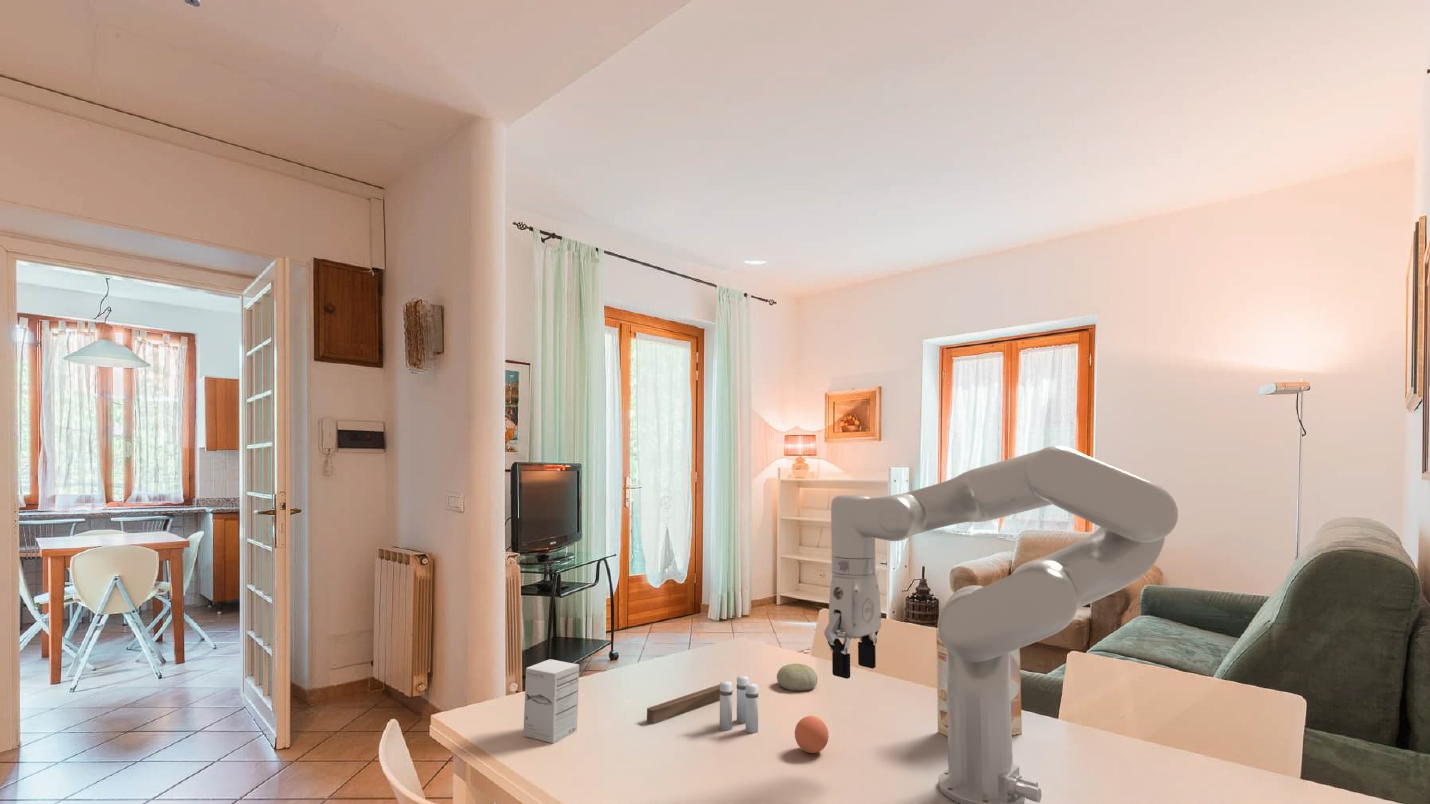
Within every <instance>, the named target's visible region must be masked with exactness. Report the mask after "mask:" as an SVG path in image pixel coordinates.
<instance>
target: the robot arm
mask: <svg viewBox="0 0 1430 804" xmlns="http://www.w3.org/2000/svg"><path fill="white" fill-rule="evenodd" d="M1176 503H1177V502H1176V500H1174V498H1173V496H1172V495H1171V494H1170V492H1168V491H1167V490H1165V489H1164V488H1163V486H1160V485H1158V484H1157V483H1154V482H1151V481H1149V480H1147V479H1144V478H1142V477H1139V476H1137V475H1134V474H1131V473H1130V472H1127V471H1124V470H1122V469H1119V468H1117V467H1115V466H1112V465H1111V464H1110V465H1109V464H1107V463H1105V462H1102V461H1100V460H1097V459H1095V458H1093V457H1091V456H1088V455H1086V454H1084V453H1082V452H1080V451H1078V450H1076V449H1073V448H1071V447H1069V446H1064V445H1050V446H1047V447H1043V449H1040V450H1036V451H1032V452H1030V453H1027V454H1022V455H1019V456H1015V457H1012V458H1009V459H1005V460H1002V461H998V462H995V463H992V464H991V463H990V464H987V465H982V466H979V467H977V468H973V469H970V470H967V471H965V472H963V473H961V474H959V475H957V476H955V477H953V478H950V479H949V480H945V481H942V482H939V483H936V484H932V485H929V486H926V487H922V488H918V489H916V490H911V491H907V492H903V493H899V494H898V493H897V494H893V495H887V496H879V497H871V496H867V495H862V494H861V495H858V494H842V495H837V496H834V497H833V498H832V500H831V504H830V505H831V506H830V517H831V518H830V529H831V530H830V532H831V533H830V534H831V538H830V541H831V542H830V543H831V548H830V549H831V556H830V557H831V558H830V559H831V563H830V564H831V575H832V576H831V580H830V587H829V600H828V624H827V625H826V627H825V629H824V631H823V634H824V637H825V638H826V640H827V644H828V646H829V650H830V652H831V654H832V656H831V661H832V662H831V663H832V668H831V669H832V675H833V676H835V677H838V678H842V679H850V678H851V653H848V652H849V648H850V645H851V642H852V640H853V639H854V640H856V639H859V640H860V641H858V642H857V664H858V665H859V666H861V667H863V668H868V669H872V670H873V669H875V668H876V667H877V666H876V665H877V664H876V663H877V661H876V659H877V658H876V657H877V656H876V644H877V643H878V637H877V636H878V633H879V631H880V629H881V628H882V610H881V596H880V588H879V587H880V586H879V581H878V577H877V573H876V539H879V540H883V541H889V542H898V541H903V540H907V539H908V538H910V537H912V536H914V535H917V534H918V535H919V534H921V533H925V532H929V531H932V530H933V531H934V530H937V529H940V528H944V527H948V526H953V525H957V524H963V523H971V522H972V523H982V522H988V521H993V520H996V519H999V518H1003V517H1007V516H1012V515H1016V514H1020V513H1024V512H1028V511H1031V510H1032V511H1033V510H1036V509H1041V508H1043V507H1047V506H1053V505H1054V506H1056V507H1058V508H1060V509H1062V510H1064V511H1066V512H1068V513H1070V514H1072V515H1074V516H1076V517H1078V518H1081V519H1083V520H1086V521H1087V522H1089V523H1091V524H1094V525H1096V526H1099V528H1098V529H1097V530H1096V531H1095V532H1094V533H1092V534H1090V535H1089V536H1086V537H1085V538H1083V539H1081V540H1078V541H1076V542H1075V543H1072V544H1070V545H1068V546H1067V547H1064V548H1061V549H1059V550H1057V551H1055V552H1052V553H1049V554H1048V555H1047V554H1046V555H1045V556H1042V557H1039V558H1036V559H1033V560H1029V561H1026V562H1024V563H1022V564H1020V565H1019V566H1018V567H1016V568H1015V570H1014V571H1013V572H1012V573H1011V574H1009V575H1007V576H1005V577H1003V578H1000V579H998V580H996V581H994V582H992V583H990V584H986V585H984V586H982V585H978V584H976V585H975V584H973V585H971V584H970V585H966V586H963V587H961V588H959V589H958V590H956V591H955V592H954V593H952V595H950V597H949V599H947V601H946V602H945V604H944V605H943V607H942V609H941V611H940V613H939V615H938V620H937V629H938V633H939V637H940V639H941V641H942V643H943V645H944V646H945V647H946V649H947V724H948V737H947V761H948V763H947V764H948V765H947V766H948V769H947V770H945V771H943V772H941V774H939V776H938V788H939V790H940V791H941V792H942V794H943V795H944V796H945V797H947V798H949V799H950V800H952V801H954V802H956V803H959V804H1024V802H1025V799H1026V800H1028V801H1032V802H1034V803H1035V802H1036V803H1037V804H1038V803H1041V799H1042V790H1041V788H1039V784H1038V782H1037V781H1034V780H1031V779H1027V778H1023V776H1022V775H1020V765H1016V764H1013V761H1014V760H1013V736H1012V725H1011V679H1010V652H1012V651H1014V650H1017V649H1019V648H1020V649H1022V648H1024V647H1027V646H1030V645H1032V644H1034V643H1037V642H1040V641H1042V640H1045V639H1047V638H1050V637H1051V636H1054V635H1057V634H1058V633H1060V632H1061V631H1063V630H1064V629H1066V628H1067V627H1068V626H1069V625H1070V624H1071V623H1072V621H1074V618H1075V617H1076V614H1077V611H1078V610H1079V609H1081V608H1083V607H1085V606H1087V605H1089V604H1091V603H1094V602H1096V601H1099V600H1101V599H1103V598H1105V597H1107V596H1110V595H1112V594H1114V593H1116V592H1118V591H1121V590H1123V589H1125V588H1126V587H1128V586H1131V585H1132V584H1134V583H1136V582H1137V581H1139V580H1140V579H1141V578H1142V577H1144V576H1145V575H1146V574H1147V573H1148V572H1149V571H1150V570H1151V568H1152V567H1153V566H1154V564H1155V563H1156V561H1157V559H1158V558H1159V556H1160V554H1161V552H1162V550H1163V547H1164V545H1165V541H1166V540H1165V539H1166V537H1167V536H1169V534H1171V533H1172V532H1173V530H1174V529H1175V527H1176V525H1177V522H1178V519H1179V518H1178V517H1179V510H1178V506H1177V504H1176ZM840 639H842V640H843V642H842V641H841V640H840Z"/></svg>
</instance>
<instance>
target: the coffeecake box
mask: <svg viewBox="0 0 1430 804" xmlns="http://www.w3.org/2000/svg"><path fill="white" fill-rule="evenodd" d="M935 630H936V632H935V633H936V683H937V684H936V689H937V691H936V693H937V732H938V733H939V734H941V735H944V736H946V737H947V738H948V724H947V649H946V647H945V646H944V645H943V643H942V641H941V639H940V637H939V633H938V628H936V629H935ZM1020 649H1021V648H1019V649H1017V650H1014V651H1012V652H1010V679H1011V725H1012V735H1013V736H1018V735H1022V734H1023V730H1022V729H1023V726H1022V725H1023V724H1022V723H1023V721H1022V691H1021V690H1022V687H1021V686H1022V685H1021V683H1022V682H1021V652H1020V651H1021V650H1020ZM1016 734H1017V735H1016Z"/></svg>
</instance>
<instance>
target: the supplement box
mask: <svg viewBox="0 0 1430 804" xmlns="http://www.w3.org/2000/svg"><path fill="white" fill-rule="evenodd" d="M579 678H580V664H578V663H572V662H568V661H567V662H566V661H561V660H556V659H551V658H550V659H547V660H543V661H541V662H538V663H536V664H533V665H531V666H528V667H526V668H525V682H524V683H525V684H524V685H525V688H524V689H525V690H524V710H523V711H524V712H523V733H522V735H523V737H524V738H525V737H526V738H530V739H535V740H539V741H543V742H547V743H550V744H552V745H553V744H555V743H557V742H558V741H561V740H563V739H565V738H566V736H567V737H569V736H570V734H571V735H572V734H574V733H576V732H577V730H578V714H579V712H578V711H579V709H578V707H579V706H578V705H579V683H580V682H579V681H580V679H579ZM575 731H576V732H575ZM573 732H574V733H573ZM568 735H569V736H568Z"/></svg>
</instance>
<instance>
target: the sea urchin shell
mask: <svg viewBox="0 0 1430 804" xmlns="http://www.w3.org/2000/svg"><path fill="white" fill-rule="evenodd" d="M818 680H819V679H818V675H817V673H816V671H815V669H813V668H812V667H811V666H809V665H807V664H803V663H789V664H786V665H783V666H782V667H781V668H780V669H779V670H778V672H777V673H776V681H777V683H778V684H779V686H780V687H782V688H783V689H785V690H788V691H790V692H791V691H794V692H795V691H796V692H798V691H799V692H800V691H801V692H805V691H810V690H813V689H814V688H815V687H816V686H817V685H818Z"/></svg>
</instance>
